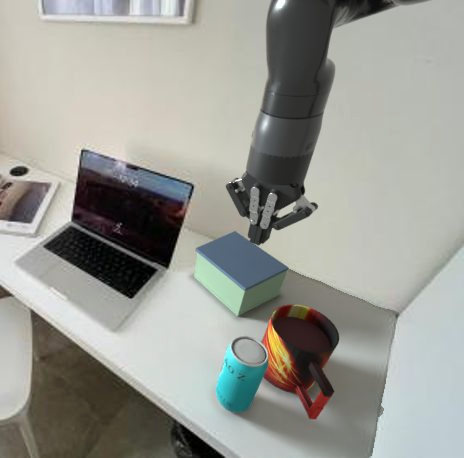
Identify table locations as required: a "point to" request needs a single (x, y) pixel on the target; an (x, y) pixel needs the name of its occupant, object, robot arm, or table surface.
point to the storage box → (235, 288)
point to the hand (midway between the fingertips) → (256, 241)
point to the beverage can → (241, 373)
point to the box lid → (241, 260)
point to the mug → (300, 353)
